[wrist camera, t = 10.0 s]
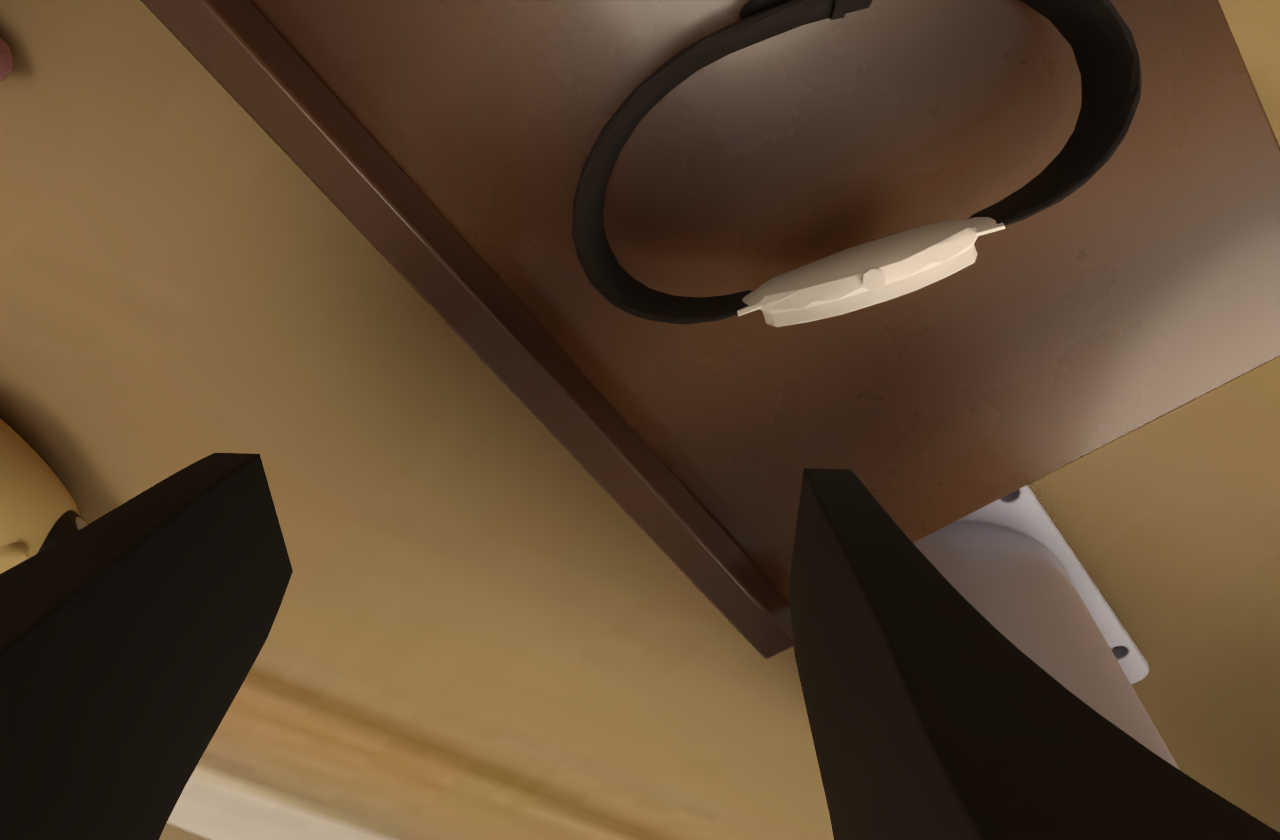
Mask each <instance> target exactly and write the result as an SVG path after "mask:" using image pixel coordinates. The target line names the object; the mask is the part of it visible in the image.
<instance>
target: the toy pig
mask: <svg viewBox="0 0 1280 840" xmlns="http://www.w3.org/2000/svg"><path fill="white" fill-rule="evenodd" d="M87 525H88V524H87V523H86V522H85V520H84V519H83V518H82V517H81V516H80V513H79V511H78V508H77V506H76V504H75V502H74V500H73V498H72V497H71V495H70V493H69V492H68V490H67V489H66V488H65V486H64V485H63V483H62V482H61V481H60V480H59V478H58V477H57V476H56V475H55V473H54V472H53V471H52V470H51V469H50V467H49V466H48V465H47V464H46V463H45V462H44V460H43V459H42V458H41V457H40V456H39V455H38V454H37V453H36V452H35V451H34V450H33V449H32V448H31V447H30V446H29V445H28V444H27V443H26V442H25V441H24V440H23V439H22V438H21V437H20V436H19V435H18V434H17V433H16V432H15V431H14V430H13V429H12V428H11V427H10V426H9V425H8V424H6V423H5V422H4V421H3V420H2V419H1V418H0V574H1V573H3V572H5V571H7V570H9V569H10V568H12V567H14V566H16V565H18V564H19V563H21V562H23V561H25V560H27V559H29V558H30V557H32V556H34V555H36V554H38V553H39V552H41V551H43V550H45V549H47V548H49V547H50V546H52V545H54V544H56V543H58V542H59V541H61V540H63V539H65V538H66V537H68V536H70V535H71V534H73V533H75V532H77V531H78V530H80V529H82V528H83V527H85V526H87Z"/></svg>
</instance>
